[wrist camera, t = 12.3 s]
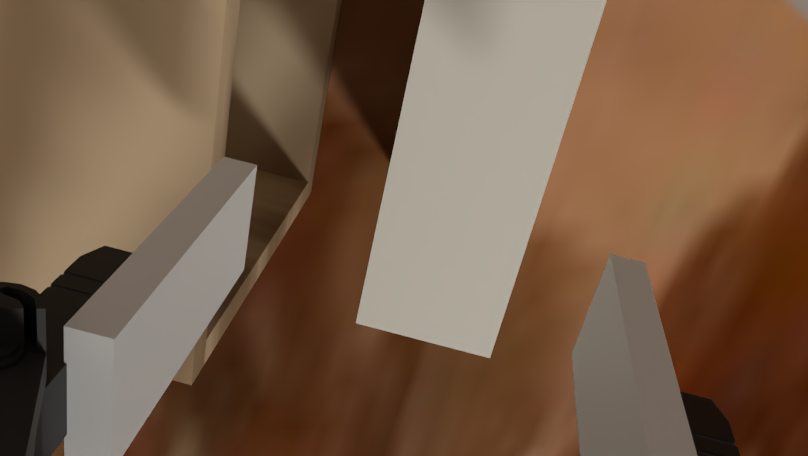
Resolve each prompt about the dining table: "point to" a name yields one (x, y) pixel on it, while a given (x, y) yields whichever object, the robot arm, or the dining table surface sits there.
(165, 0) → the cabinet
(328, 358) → the dining table surface
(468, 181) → the grey rectangular block
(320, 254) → the dining table surface
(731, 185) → the dining table surface
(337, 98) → the dining table surface
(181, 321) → the robot arm
